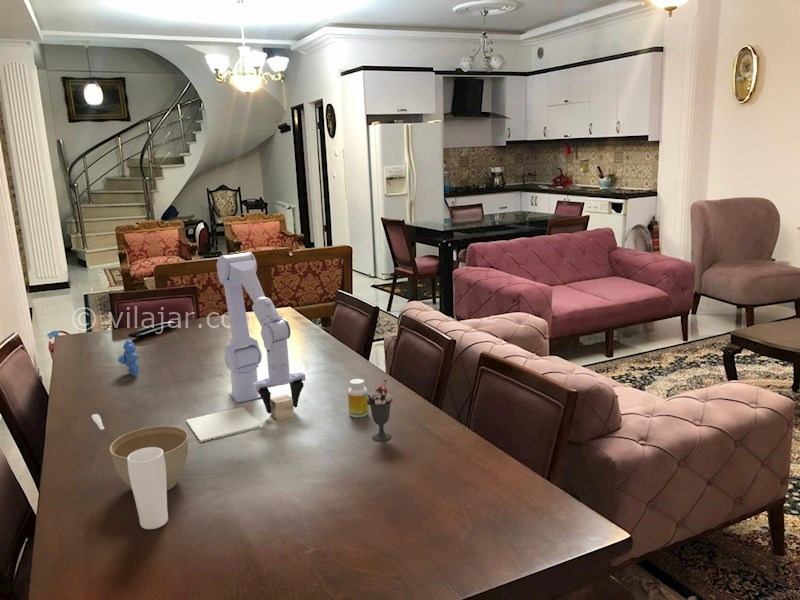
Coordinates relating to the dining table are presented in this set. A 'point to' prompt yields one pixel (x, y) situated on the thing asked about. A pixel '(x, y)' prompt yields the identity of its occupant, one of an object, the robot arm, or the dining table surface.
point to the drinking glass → (149, 486)
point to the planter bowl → (160, 437)
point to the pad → (222, 424)
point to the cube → (282, 406)
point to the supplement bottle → (357, 398)
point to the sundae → (380, 411)
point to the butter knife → (98, 421)
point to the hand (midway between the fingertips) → (282, 409)
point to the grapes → (130, 358)
